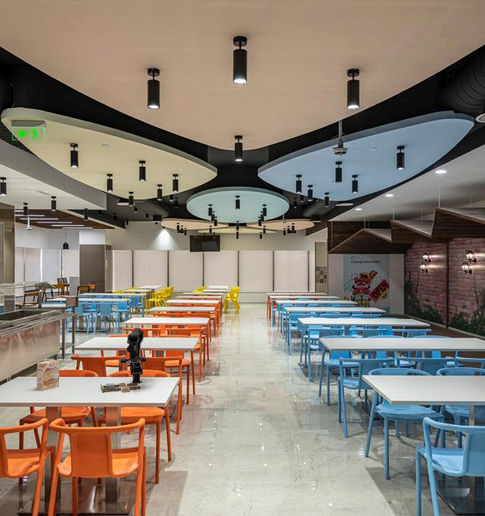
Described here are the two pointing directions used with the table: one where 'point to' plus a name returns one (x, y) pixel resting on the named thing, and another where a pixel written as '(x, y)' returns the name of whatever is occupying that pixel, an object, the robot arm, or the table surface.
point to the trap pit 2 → (126, 390)
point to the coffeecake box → (47, 374)
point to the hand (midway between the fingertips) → (132, 371)
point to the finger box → (120, 388)
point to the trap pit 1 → (122, 384)
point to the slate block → (110, 386)
